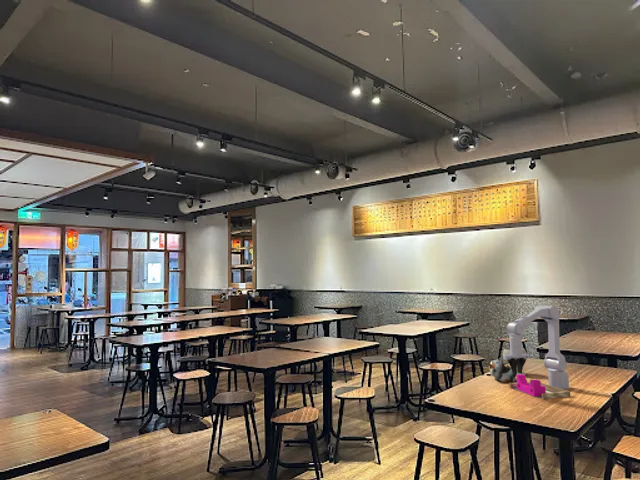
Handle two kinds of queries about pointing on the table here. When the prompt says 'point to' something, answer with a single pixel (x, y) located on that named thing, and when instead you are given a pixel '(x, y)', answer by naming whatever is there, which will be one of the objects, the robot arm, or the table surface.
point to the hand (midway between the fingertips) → (517, 373)
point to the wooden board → (550, 391)
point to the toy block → (530, 386)
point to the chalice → (507, 352)
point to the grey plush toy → (501, 371)
